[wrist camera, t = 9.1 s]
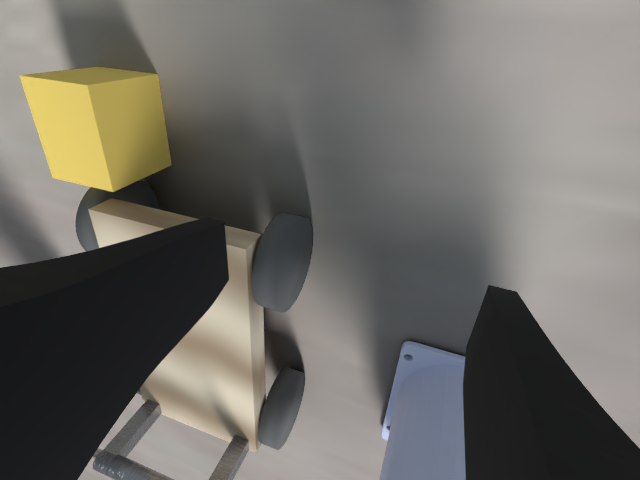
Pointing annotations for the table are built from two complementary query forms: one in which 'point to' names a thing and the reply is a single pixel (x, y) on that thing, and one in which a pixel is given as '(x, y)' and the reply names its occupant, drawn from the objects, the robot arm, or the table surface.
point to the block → (99, 125)
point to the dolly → (211, 336)
